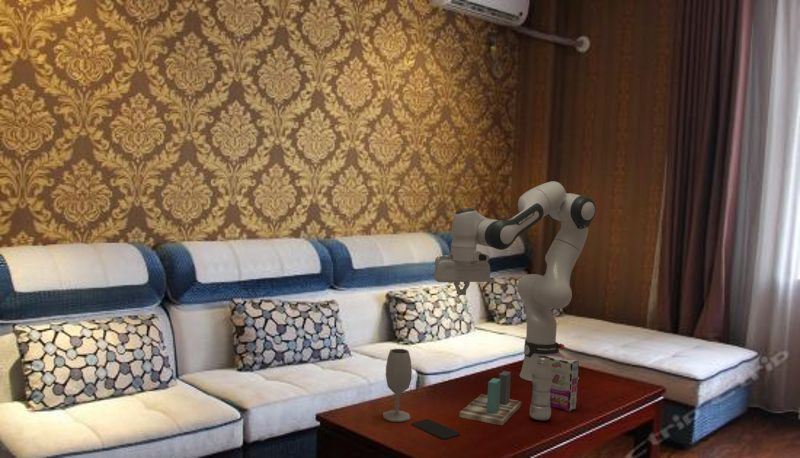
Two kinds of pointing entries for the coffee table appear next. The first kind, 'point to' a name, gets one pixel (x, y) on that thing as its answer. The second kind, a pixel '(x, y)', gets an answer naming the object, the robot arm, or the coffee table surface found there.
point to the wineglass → (398, 381)
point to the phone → (436, 429)
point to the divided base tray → (479, 413)
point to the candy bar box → (563, 382)
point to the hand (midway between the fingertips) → (461, 294)
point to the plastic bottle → (541, 389)
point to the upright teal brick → (493, 395)
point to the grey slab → (505, 387)
